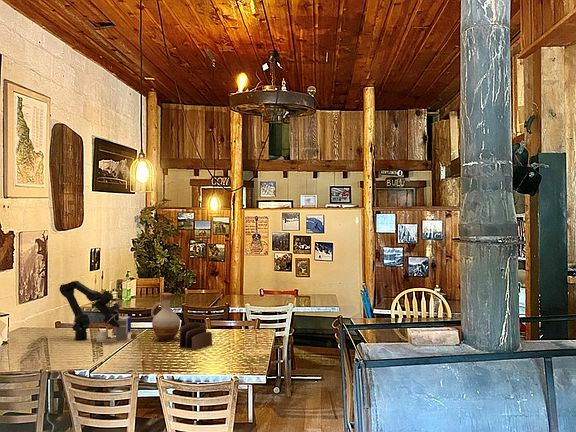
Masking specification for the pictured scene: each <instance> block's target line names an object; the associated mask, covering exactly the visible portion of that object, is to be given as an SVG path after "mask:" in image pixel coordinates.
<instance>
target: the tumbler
mask: <svg viewBox="0 0 576 432" xmlns="http://www.w3.org/2000/svg"><path fill="white" fill-rule="evenodd" d="M116 322H117V323H118V324H119V326H120V327H116V336H115V339H116V341H122V340H127V339H129V337H128V336H129V335H128V334H129V332H128V319H118V320H117V321H116Z"/></svg>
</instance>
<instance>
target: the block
mask: <svg viewBox="0 0 576 432" xmlns="http://www.w3.org/2000/svg"><path fill="white" fill-rule="evenodd" d="M137 334H138V333H134V332H132V333H130V340H136V339H137V338H138V337H137V336H138V335H137Z"/></svg>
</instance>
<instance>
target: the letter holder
mask: <svg viewBox="0 0 576 432" xmlns="http://www.w3.org/2000/svg"><path fill="white" fill-rule="evenodd" d="M201 326H202V325H201V322H199V321H198V322H196V321H195V322H191V323H187V324H185V325H182V326H180V327H179V350H185V349H186V351H195V349H196V350H199V349H202V348H205V347H208V346H212V345H213V333H212V332H211V331H207V327H201Z"/></svg>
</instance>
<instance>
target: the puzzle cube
mask: <svg viewBox="0 0 576 432" xmlns="http://www.w3.org/2000/svg"><path fill="white" fill-rule="evenodd" d="M119 318H120V319H128V333H130V332H131V330H132V316H119ZM111 327H115V328H111V329H112V330H111V331H112V334H114V332H116V326H113V325H111Z"/></svg>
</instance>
